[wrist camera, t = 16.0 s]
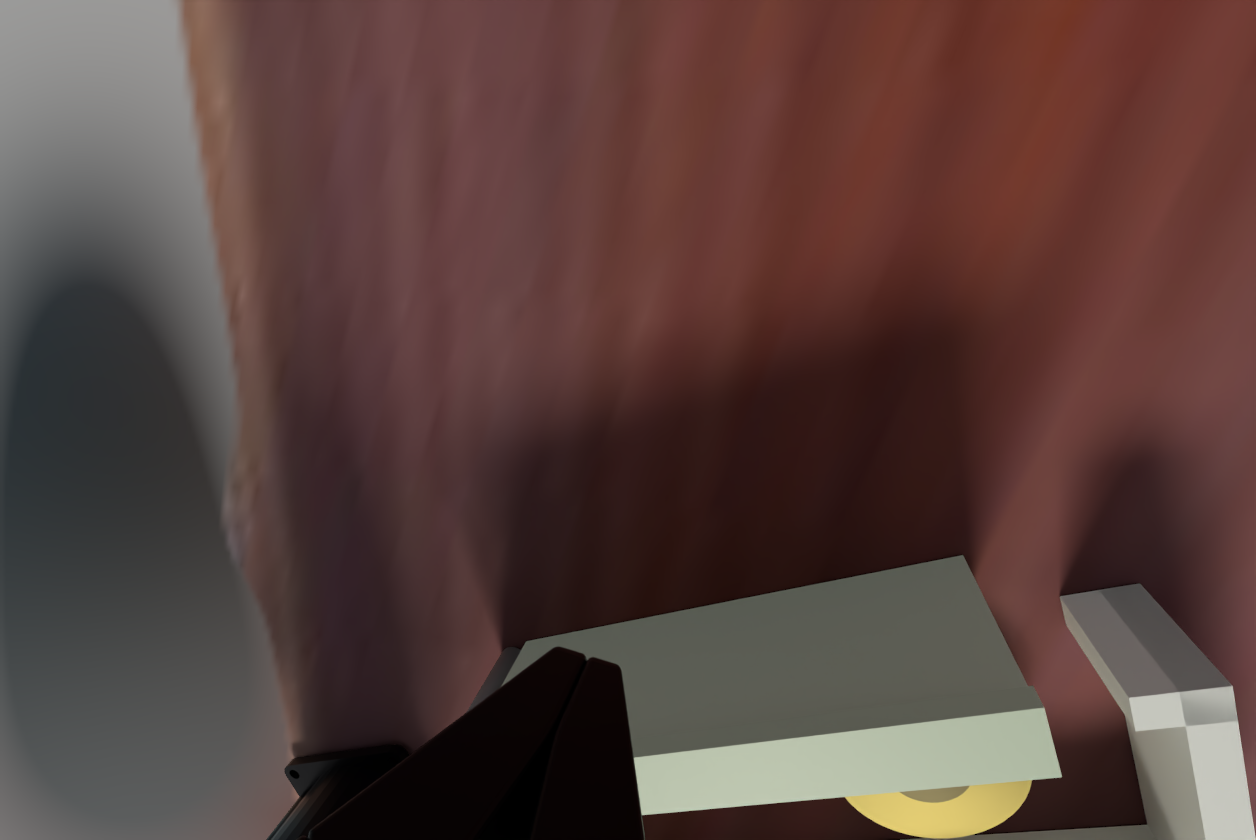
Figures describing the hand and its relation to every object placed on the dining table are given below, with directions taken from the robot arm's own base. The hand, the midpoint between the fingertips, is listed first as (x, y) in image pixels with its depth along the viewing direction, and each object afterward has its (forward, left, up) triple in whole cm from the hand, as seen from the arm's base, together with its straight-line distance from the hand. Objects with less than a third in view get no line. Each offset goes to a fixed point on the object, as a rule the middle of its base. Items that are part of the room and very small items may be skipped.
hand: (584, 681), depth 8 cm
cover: (-2, -7, -12) cm, 14 cm away
